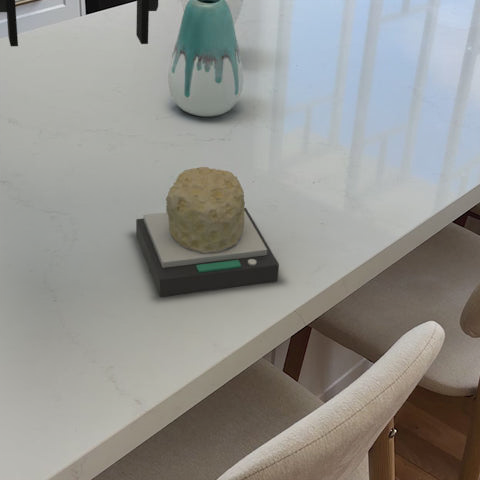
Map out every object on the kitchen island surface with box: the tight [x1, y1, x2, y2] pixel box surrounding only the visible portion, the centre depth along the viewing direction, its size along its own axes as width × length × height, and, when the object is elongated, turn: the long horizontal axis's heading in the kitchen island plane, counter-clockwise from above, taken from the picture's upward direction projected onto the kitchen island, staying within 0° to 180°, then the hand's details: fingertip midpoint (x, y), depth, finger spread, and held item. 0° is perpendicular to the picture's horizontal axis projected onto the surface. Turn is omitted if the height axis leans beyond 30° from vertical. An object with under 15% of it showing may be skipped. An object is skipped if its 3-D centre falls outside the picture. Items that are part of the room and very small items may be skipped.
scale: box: [135, 207, 280, 298], centre depth 105 cm, size 14×13×3 cm
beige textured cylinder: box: [165, 166, 246, 254], centre depth 104 cm, size 9×10×10 cm
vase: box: [167, 0, 244, 117], centre depth 136 cm, size 12×12×18 cm
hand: (79, 40), depth 95 cm, fingers open, 13 cm apart
